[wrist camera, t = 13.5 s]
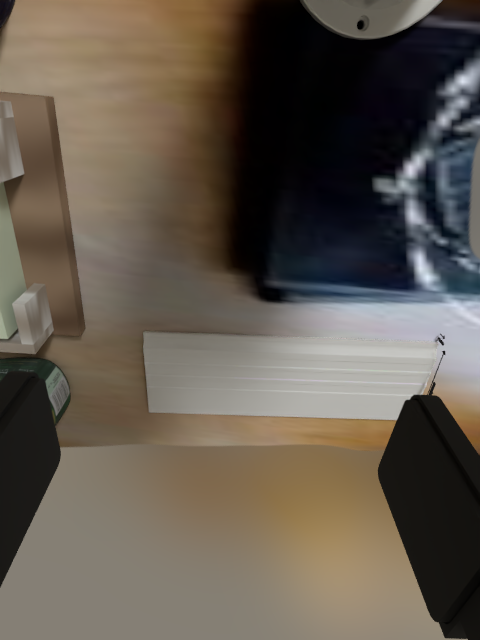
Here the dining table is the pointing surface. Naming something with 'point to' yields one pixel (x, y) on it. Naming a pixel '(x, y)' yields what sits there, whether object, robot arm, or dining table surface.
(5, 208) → the pale green long block
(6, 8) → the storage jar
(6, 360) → the coffee jar
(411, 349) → the baseboard molding
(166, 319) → the dining table surface
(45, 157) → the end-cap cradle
